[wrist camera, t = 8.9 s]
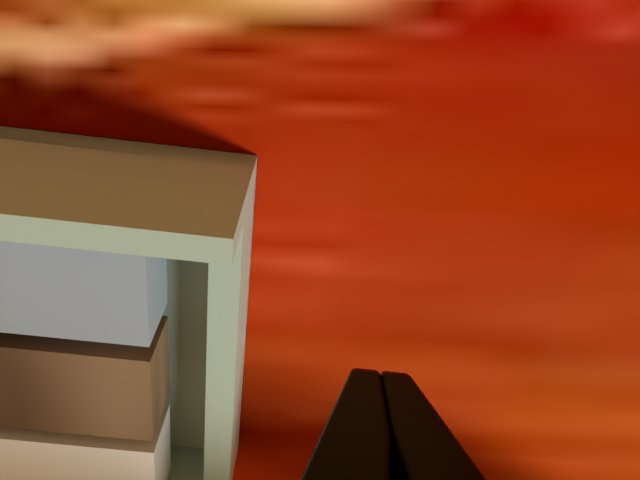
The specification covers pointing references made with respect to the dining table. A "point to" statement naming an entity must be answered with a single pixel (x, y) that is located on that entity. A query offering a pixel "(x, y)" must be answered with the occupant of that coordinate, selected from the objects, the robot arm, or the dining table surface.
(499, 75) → the dining table surface
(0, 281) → the grey flat block
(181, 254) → the key bed
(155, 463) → the ivory key
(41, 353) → the brown rectangular block
